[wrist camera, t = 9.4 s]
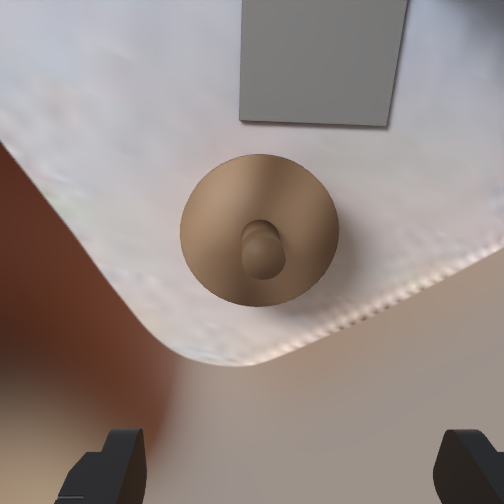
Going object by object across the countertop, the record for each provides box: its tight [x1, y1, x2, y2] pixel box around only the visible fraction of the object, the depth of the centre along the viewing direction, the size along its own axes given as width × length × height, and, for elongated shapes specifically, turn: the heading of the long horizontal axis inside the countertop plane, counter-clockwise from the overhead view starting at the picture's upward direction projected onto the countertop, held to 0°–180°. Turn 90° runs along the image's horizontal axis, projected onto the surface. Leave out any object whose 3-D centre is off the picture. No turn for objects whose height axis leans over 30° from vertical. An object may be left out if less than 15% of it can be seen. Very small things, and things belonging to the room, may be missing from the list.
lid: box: [180, 154, 339, 307], centre depth 24 cm, size 11×11×5 cm
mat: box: [239, 0, 407, 126], centre depth 26 cm, size 11×9×1 cm
